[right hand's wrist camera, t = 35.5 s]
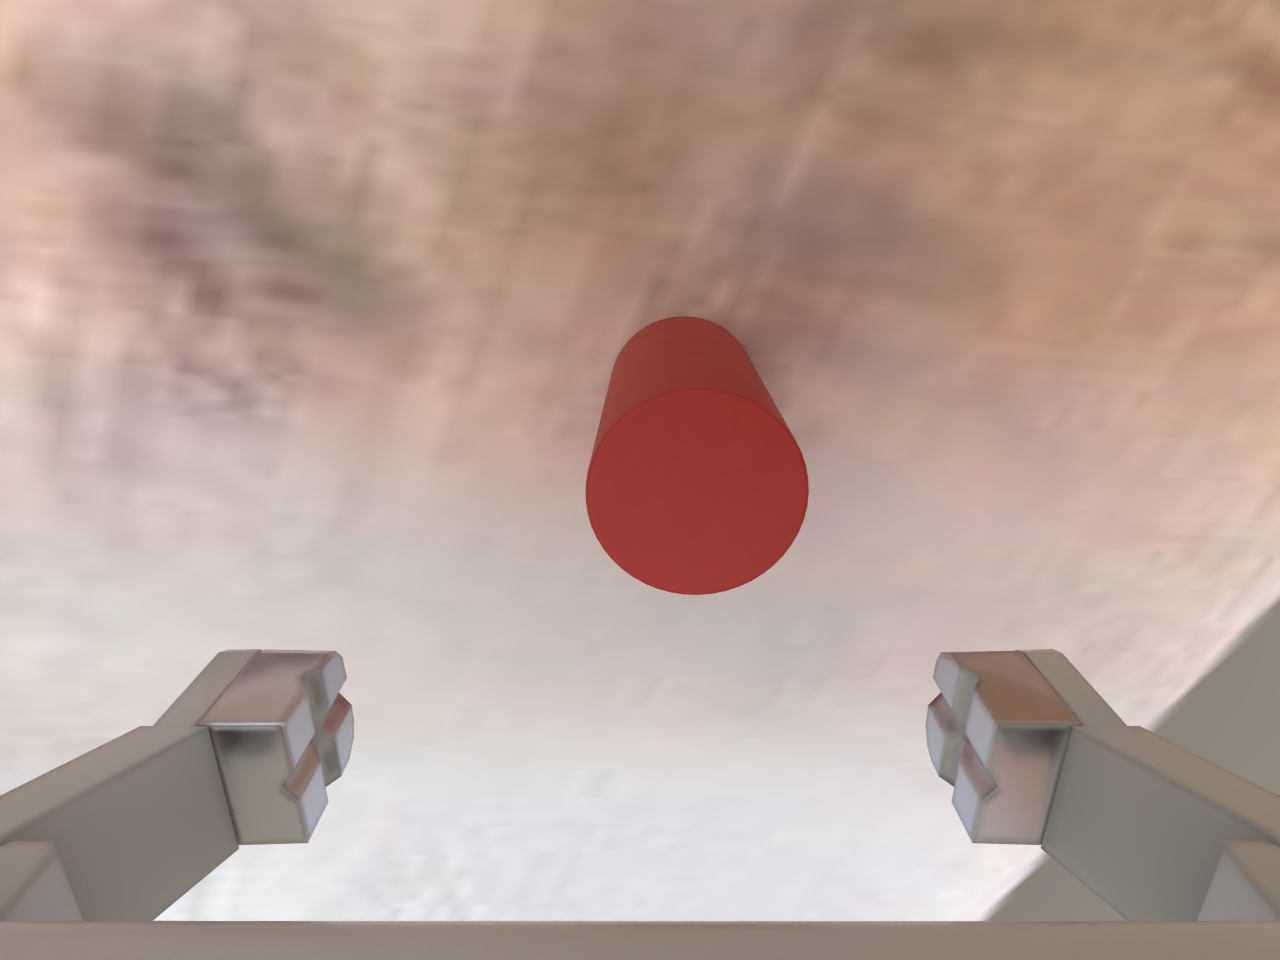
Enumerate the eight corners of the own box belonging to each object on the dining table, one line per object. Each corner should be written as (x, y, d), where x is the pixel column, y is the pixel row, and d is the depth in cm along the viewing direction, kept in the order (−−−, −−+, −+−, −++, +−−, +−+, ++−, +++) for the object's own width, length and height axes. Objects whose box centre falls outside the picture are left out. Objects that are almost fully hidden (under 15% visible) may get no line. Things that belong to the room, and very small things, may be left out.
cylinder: (679, 284, 26) (694, 339, 16) (784, 385, 27) (856, 492, 18) (580, 392, 28) (539, 502, 18) (684, 483, 29) (698, 634, 19)
